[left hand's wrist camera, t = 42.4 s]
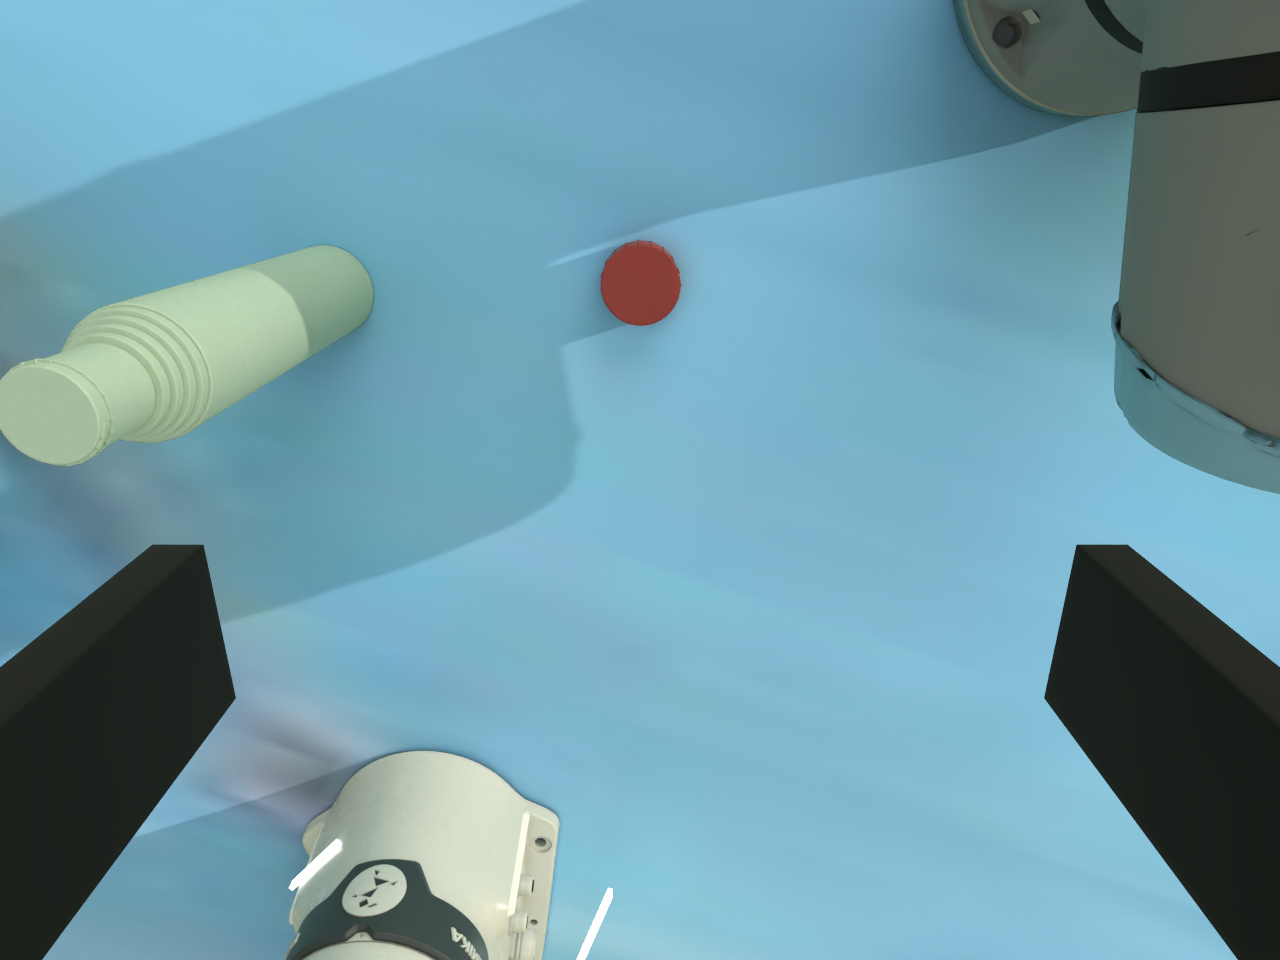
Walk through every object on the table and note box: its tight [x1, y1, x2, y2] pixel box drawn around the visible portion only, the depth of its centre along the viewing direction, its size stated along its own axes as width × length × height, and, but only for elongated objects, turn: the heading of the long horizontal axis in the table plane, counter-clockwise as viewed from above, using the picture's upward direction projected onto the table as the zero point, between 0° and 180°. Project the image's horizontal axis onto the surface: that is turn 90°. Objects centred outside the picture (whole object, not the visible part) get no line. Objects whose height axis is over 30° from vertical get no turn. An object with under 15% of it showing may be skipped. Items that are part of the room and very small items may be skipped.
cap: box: [601, 240, 681, 326], centre depth 46 cm, size 4×4×2 cm
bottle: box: [0, 245, 373, 466], centre depth 36 cm, size 5×5×24 cm
